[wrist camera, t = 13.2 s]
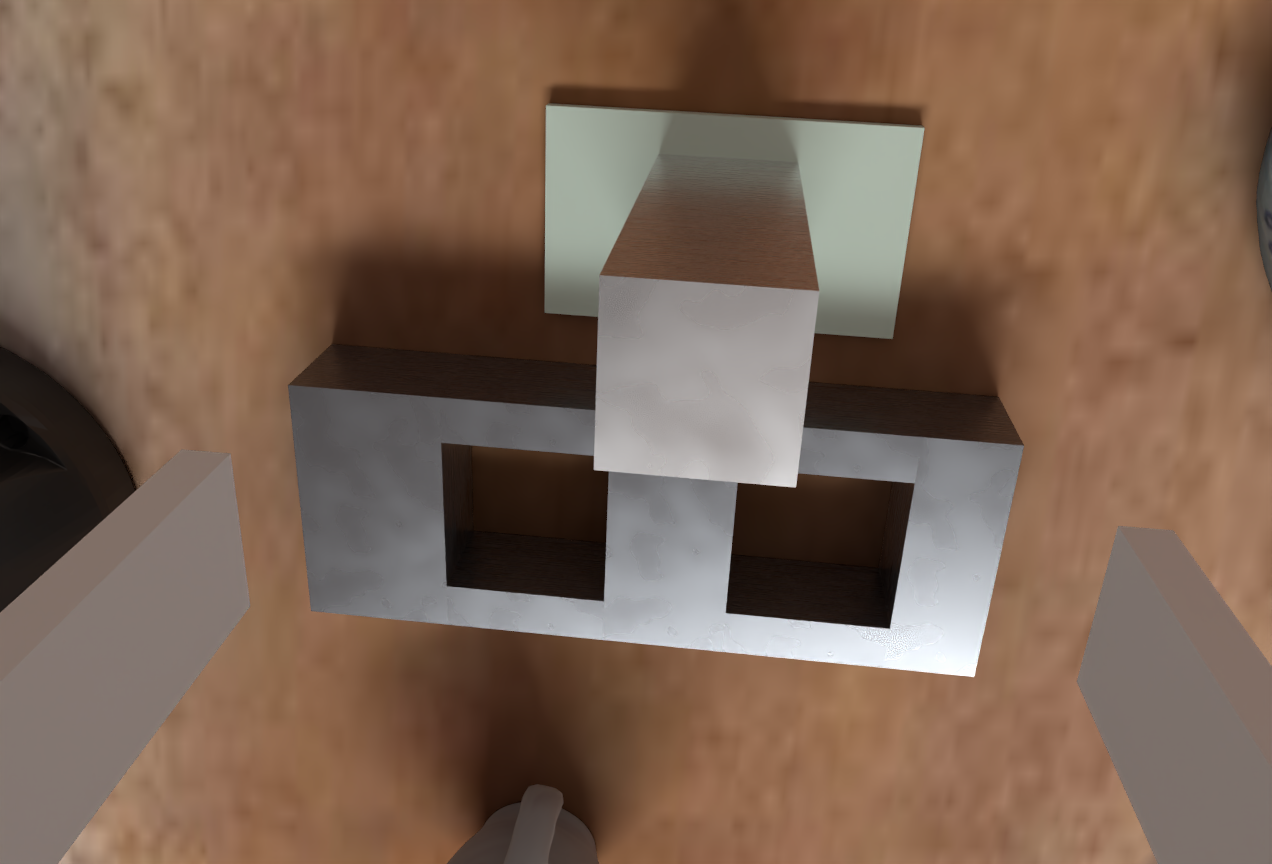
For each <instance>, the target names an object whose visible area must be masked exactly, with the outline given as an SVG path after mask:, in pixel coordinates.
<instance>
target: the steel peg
mask: <svg viewBox="0 0 1272 864" xmlns="http://www.w3.org/2000/svg"><path fill="white" fill-rule="evenodd" d="M818 299H819V286H818V279H817V273H816V267H815V261H814V255H813V249H812V243H811V237H810V231H809V224H808V218H807V212H806V206H805V200H804V194H803V188H802V182H801V175H800V169H799V163H798V162H784V161H768V160H752V159H736V158H720V157H705V156H689V155H673V154H658V156H657V158H656V160H655V162H654V164H653V166H652V168H651V171H650V173H649V175H648V177H647V179H646V181H645V183H644V185H643V187H642V189H641V191H640V193H639V195H638V197H637V199H636V201H635V203H634V205H633V207H632V209H631V211H630V214H629V216H628V218H627V220H626V222H625V224H624V226H623V228H622V230H621V232H620V234H619V236H618V238H617V240H616V242H615V244H614V246H613V248H612V250H611V252H610V254H609V256H608V259H607V261H606V263H605V265H604V267H603V269H602V271H601V273H600V275H599V305H598V340H597V374H596V409H595V444H594V470H599V471H611V472H622V473H634V474H645V475H657V476H668V477H680V478H691V479H703V480H715V481H726V482H738V483H749V484H761V485H772V486H784V487H795V488H796V484H797V476H798V467H799V459H800V450H801V442H802V433H803V425H804V417H805V408H806V400H807V391H808V383H809V374H810V366H811V358H812V349H813V341H814V332H815V324H816V315H817V307H818Z"/></svg>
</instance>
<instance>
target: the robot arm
mask: <svg viewBox="0 0 1272 864" xmlns="http://www.w3.org/2000/svg"><path fill="white" fill-rule="evenodd" d="M249 607H250V600H249V593H248V585H247V577H246V570H245V562H244V554H243V547H242V539H241V531H240V523H239V516H238V508H237V500H236V493H235V485H234V477H233V469H232V462H231V454H229V453H217V452H205V451H193V450H181V451H180V452H178V453H177V454H176V455H175V456H174V457H173V458H172V459H171V460H169V461H168V462H167V463H166V464H165V465H164V466H163V467H162V468H161V469H159V470H158V471H157V472H156V473H155V474H154V475H153V476H152V477H151V478H149V479H148V480H147V481H146V482H145V483H144V484H143V485H142V486H141V487H139V488H138V489H137V490H136V491H135V490H134V487H133V484H132V482H131V479H130V477H129V475H128V472H127V470H126V468H125V466H124V464H123V462H122V460H121V458H120V457H119V455H118V453H117V451H116V450H115V448H114V447H113V445H112V443H111V442H110V440H109V439H108V437H107V436H106V435H105V433H104V432H103V430H102V429H101V428H100V427H99V425H98V424H97V423H96V422H95V420H94V419H93V418H92V417H91V416H90V414H89V413H88V412H87V411H86V410H85V409H84V408H83V407H82V406H81V405H80V404H79V403H78V402H77V401H76V400H75V399H74V398H73V397H72V396H71V395H70V394H69V393H68V392H67V391H66V390H65V389H63V388H62V387H61V386H60V385H59V384H58V383H56V382H55V381H54V380H52V379H51V378H50V377H49V376H47V375H46V374H45V373H43V372H42V371H40V370H39V369H38V368H36V367H35V366H33V365H32V364H30V363H28V362H27V361H25V360H23V359H22V358H20V357H18V356H16V355H15V354H13V353H11V352H9V351H7V350H5V349H3V348H1V347H0V864H58V863H59V861H60V860H61V859H62V857H63V856H64V855H65V853H66V852H67V851H68V849H69V848H70V847H71V845H72V844H73V843H74V841H75V840H76V839H77V837H78V836H79V835H80V833H81V832H82V831H83V829H84V828H85V827H86V825H87V824H88V823H89V821H90V820H91V819H92V817H93V816H94V815H95V813H96V812H97V811H98V809H99V808H100V807H101V805H102V804H103V803H104V801H105V800H106V798H107V797H108V796H109V794H110V793H111V792H112V790H113V789H114V788H115V786H116V785H117V784H118V782H119V781H120V780H121V778H122V777H123V776H124V774H125V773H126V772H127V770H128V769H129V768H130V766H131V765H132V764H133V762H134V761H135V760H136V758H137V757H138V756H139V754H140V753H141V752H142V750H143V749H144V748H145V746H146V745H147V744H148V742H149V741H150V740H151V738H152V737H153V736H154V734H155V733H156V732H157V730H158V729H159V728H160V726H161V725H162V724H163V722H164V721H165V720H166V718H167V717H168V716H169V714H170V713H171V711H172V710H173V709H174V707H175V706H176V705H177V703H178V702H179V701H180V699H181V698H182V697H183V695H184V694H185V693H186V691H187V690H188V689H189V687H190V686H191V685H192V683H193V682H194V681H195V679H196V678H197V677H198V675H199V674H200V673H201V671H202V670H203V669H204V667H205V666H206V665H207V663H208V662H209V661H210V659H211V658H212V657H213V655H214V654H215V653H216V651H217V650H218V649H219V647H220V646H221V645H222V643H223V642H224V641H225V639H226V638H227V637H228V635H229V634H230V633H231V631H232V630H233V629H234V627H235V626H236V625H237V623H238V622H239V620H240V619H241V618H242V616H243V615H244V614H245V612H246V611H247V610H248V608H249ZM1077 683H1078V685H1079V687H1080V690H1081V692H1082V694H1083V696H1084V699H1085V701H1086V703H1087V705H1088V708H1089V710H1090V712H1091V714H1092V717H1093V719H1094V721H1095V723H1096V726H1097V728H1098V730H1099V732H1100V735H1101V737H1102V739H1103V741H1104V744H1105V746H1106V748H1107V750H1108V753H1109V755H1110V757H1111V759H1112V762H1113V764H1114V766H1115V768H1116V771H1117V773H1118V775H1119V777H1120V780H1121V782H1122V784H1123V786H1124V789H1125V791H1126V793H1127V795H1128V797H1129V800H1130V802H1131V804H1132V806H1133V809H1134V811H1135V813H1136V815H1137V818H1138V820H1139V822H1140V824H1141V827H1142V829H1143V831H1144V833H1145V836H1146V838H1147V840H1148V842H1149V845H1150V847H1151V849H1152V851H1153V854H1154V856H1155V858H1156V860H1157V863H1158V864H1272V666H1271V665H1270V664H1269V662H1268V661H1267V659H1266V658H1265V657H1264V655H1263V654H1262V653H1261V651H1260V650H1259V648H1258V647H1257V646H1256V644H1255V643H1254V641H1253V640H1252V639H1251V637H1250V636H1249V635H1248V633H1247V632H1246V630H1245V629H1244V628H1243V626H1242V625H1241V623H1240V622H1239V621H1238V619H1237V618H1236V617H1235V615H1234V614H1233V612H1232V611H1231V610H1230V608H1229V607H1228V605H1227V604H1226V603H1225V601H1224V600H1223V599H1222V597H1221V596H1220V594H1219V593H1218V592H1217V590H1216V589H1215V587H1214V586H1213V585H1212V583H1211V582H1210V581H1209V579H1208V578H1207V576H1206V575H1205V574H1204V572H1203V571H1202V570H1201V568H1200V567H1199V565H1198V564H1197V563H1196V561H1195V560H1194V558H1193V557H1192V556H1191V554H1190V553H1189V552H1188V550H1187V549H1186V547H1185V546H1184V545H1183V543H1182V542H1181V540H1180V539H1179V538H1178V536H1177V535H1176V534H1175V532H1174V531H1173V530H1161V529H1149V528H1137V527H1125V526H1118V529H1117V533H1116V536H1115V540H1114V544H1113V548H1112V552H1111V555H1110V559H1109V563H1108V567H1107V570H1106V574H1105V578H1104V582H1103V585H1102V589H1101V593H1100V597H1099V600H1098V604H1097V608H1096V612H1095V615H1094V619H1093V623H1092V627H1091V631H1090V634H1089V638H1088V642H1087V646H1086V649H1085V653H1084V657H1083V661H1082V664H1081V668H1080V672H1079V676H1078V679H1077Z"/></svg>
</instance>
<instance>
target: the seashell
mask: <svg viewBox="0 0 1272 864" xmlns="http://www.w3.org/2000/svg"><path fill="white" fill-rule="evenodd" d="M1256 205H1257V223H1258V232H1259V244H1260V251H1261V256H1262V260H1263V265H1264V269H1265V272H1266V275H1267V278H1268V281H1269V284H1270V287H1271V290H1272V128H1271V131H1270V134H1269V137H1268V141H1267V144H1266V147H1265V152H1264V156H1263V160H1262V164H1261V168H1260V173H1259V180H1258V186H1257V200H1256Z"/></svg>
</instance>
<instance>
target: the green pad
mask: <svg viewBox="0 0 1272 864" xmlns="http://www.w3.org/2000/svg"><path fill="white" fill-rule="evenodd" d="M923 135H924V127H923V126H922V125H905V124H888V123H871V122H855V121H838V120H821V119H804V118H787V117H770V116H754V115H737V114H720V113H703V112H686V111H670V110H653V109H636V108H619V107H602V106H586V105H569V104H552V103H549V104H547V105H546V181H545V313H553V314H567V315H580V316H593V317H598V305H599V275H600V273H601V271H602V269H603V267H604V265H605V263H606V261H607V259H608V256H609V254H610V252H611V250H612V248H613V246H614V244H615V242H616V240H617V238H618V236H619V234H620V232H621V230H622V228H623V226H624V224H625V222H626V220H627V218H628V216H629V214H630V211H631V209H632V207H633V205H634V203H635V201H636V199H637V197H638V195H639V193H640V191H641V189H642V187H643V185H644V183H645V181H646V179H647V177H648V175H649V173H650V171H651V168H652V166H653V164H654V162H655V160H656V158H657V156H658V154H673V155H689V156H705V157H720V158H736V159H752V160H768V161H784V162H798V163H799V169H800V175H801V182H802V188H803V194H804V200H805V206H806V212H807V218H808V224H809V231H810V237H811V243H812V249H813V255H814V261H815V267H816V273H817V279H818V286H819V299H818V307H817V315H816V324H815V332H814V333H819V334H833V335H846V336H859V337H872V338H886V339H893V333H894V326H895V319H896V313H897V306H898V300H899V293H900V286H901V280H902V273H903V267H904V260H905V253H906V247H907V240H908V234H909V227H910V220H911V214H912V207H913V201H914V194H915V187H916V181H917V174H918V168H919V161H920V154H921V148H922V141H923Z"/></svg>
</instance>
